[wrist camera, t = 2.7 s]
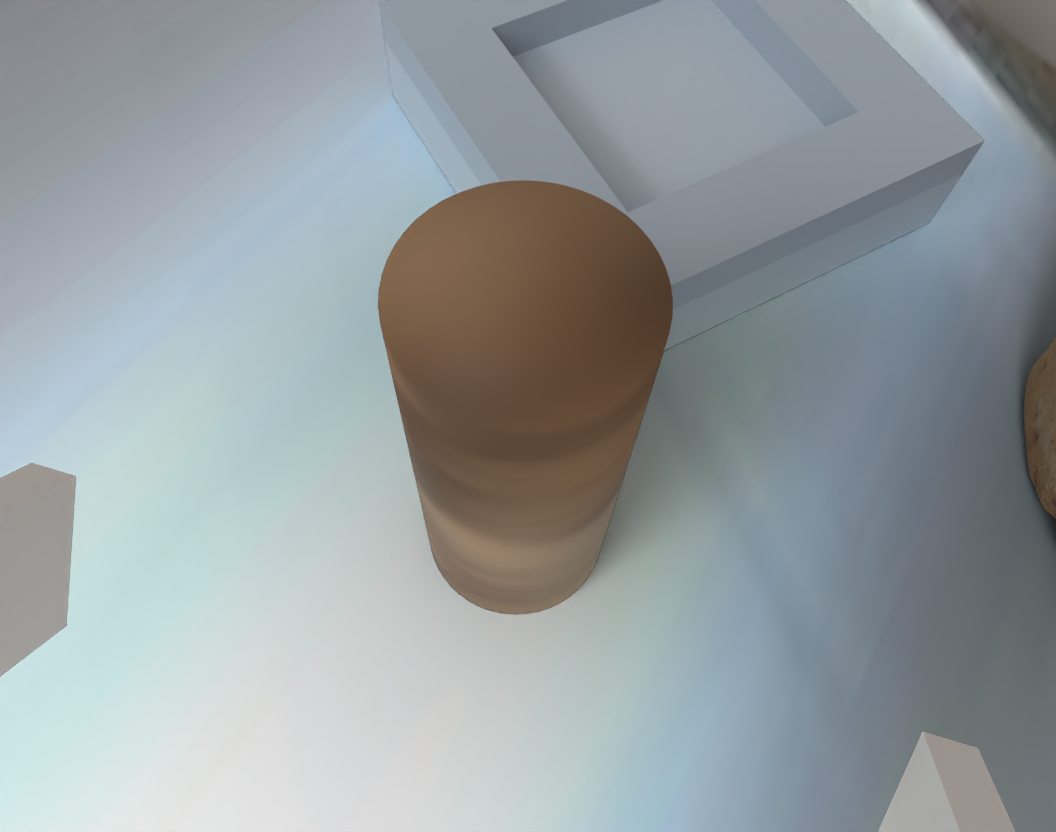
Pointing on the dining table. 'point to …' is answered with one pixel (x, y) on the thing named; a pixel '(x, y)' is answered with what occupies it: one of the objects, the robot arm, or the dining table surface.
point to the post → (522, 379)
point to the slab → (689, 127)
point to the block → (1042, 427)
